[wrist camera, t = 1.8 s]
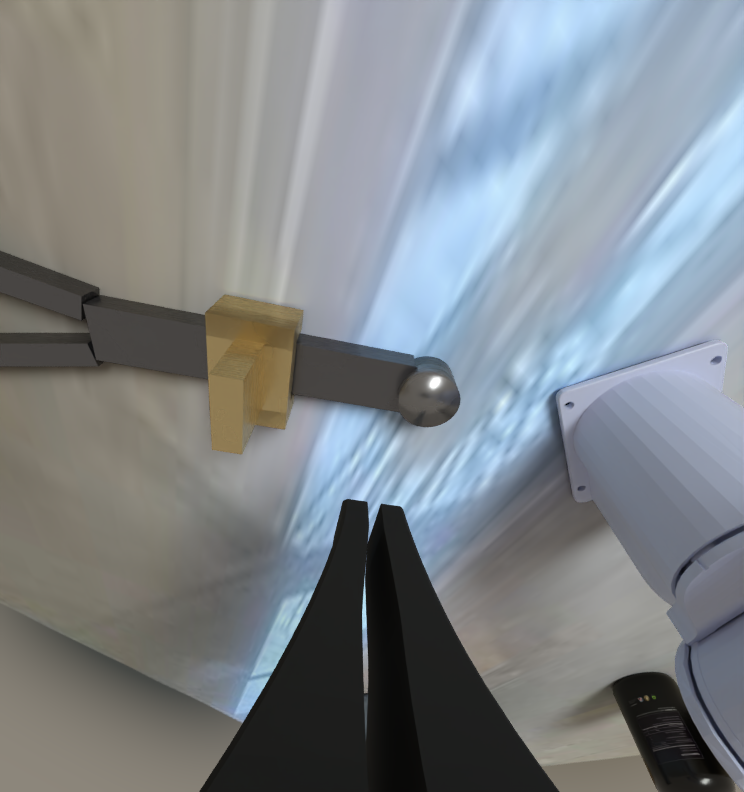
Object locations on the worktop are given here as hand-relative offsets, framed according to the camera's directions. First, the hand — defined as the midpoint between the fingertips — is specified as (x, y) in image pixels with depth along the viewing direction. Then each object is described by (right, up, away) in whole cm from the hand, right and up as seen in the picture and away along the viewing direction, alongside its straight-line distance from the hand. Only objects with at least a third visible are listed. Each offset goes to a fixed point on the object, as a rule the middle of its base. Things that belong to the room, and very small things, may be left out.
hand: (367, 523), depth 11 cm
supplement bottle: (+32, -29, +31) cm, 53 cm away
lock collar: (-5, +6, +7) cm, 11 cm away
